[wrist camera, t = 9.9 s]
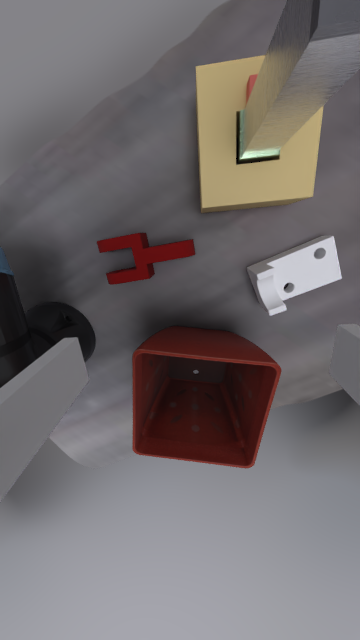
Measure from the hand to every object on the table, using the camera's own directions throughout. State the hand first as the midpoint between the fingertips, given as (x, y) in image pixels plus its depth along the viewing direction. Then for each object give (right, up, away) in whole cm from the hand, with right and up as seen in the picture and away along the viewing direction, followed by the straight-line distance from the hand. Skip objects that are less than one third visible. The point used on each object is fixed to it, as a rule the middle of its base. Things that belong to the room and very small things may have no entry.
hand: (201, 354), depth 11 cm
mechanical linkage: (-6, +14, +29) cm, 32 cm away
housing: (+9, +26, +22) cm, 36 cm away
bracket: (+18, +11, +28) cm, 35 cm away
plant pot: (+3, -6, +35) cm, 36 cm away
